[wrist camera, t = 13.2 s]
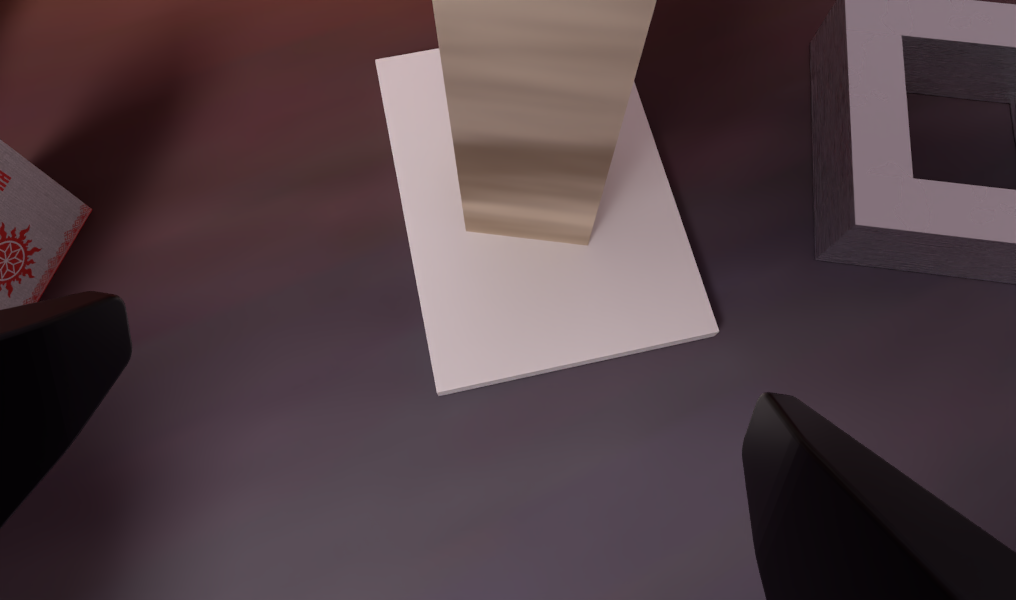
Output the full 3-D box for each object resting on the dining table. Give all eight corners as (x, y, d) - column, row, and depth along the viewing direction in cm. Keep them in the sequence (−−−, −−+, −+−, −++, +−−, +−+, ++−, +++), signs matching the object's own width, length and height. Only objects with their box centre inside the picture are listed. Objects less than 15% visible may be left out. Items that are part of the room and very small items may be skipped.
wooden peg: (587, 245, 24) (671, -55, 11) (465, 231, 24) (421, -80, 12) (597, 140, 25) (682, -227, 13) (483, 127, 25) (458, -246, 13)
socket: (1091, 293, 24) (1170, 261, 21) (815, 259, 24) (855, 224, 21) (1053, 68, 27) (1117, 14, 24) (809, 42, 27) (844, -13, 25)
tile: (714, 336, 23) (719, 331, 23) (438, 396, 23) (436, 392, 22) (610, 27, 28) (612, 17, 27) (377, 69, 27) (375, 59, 26)
